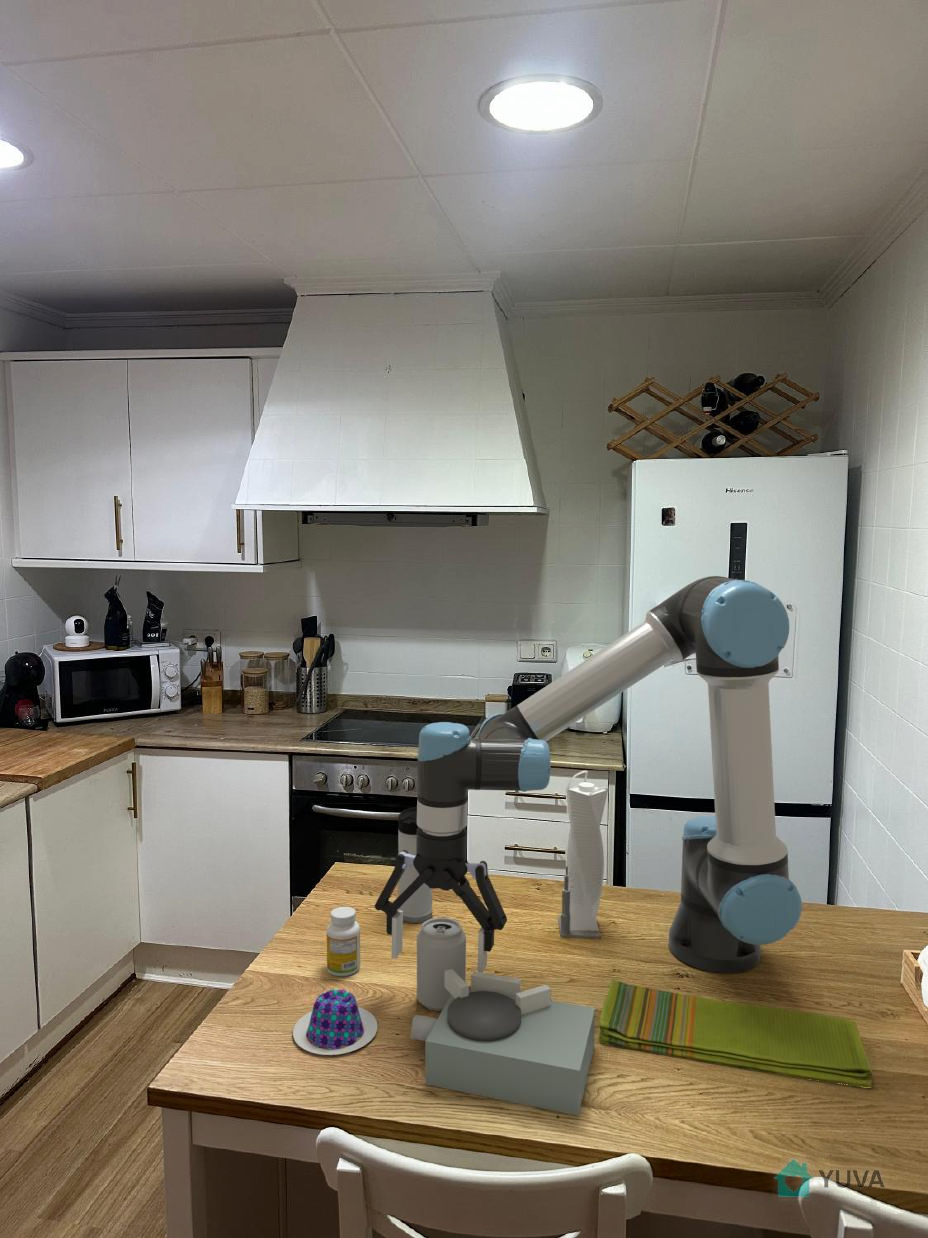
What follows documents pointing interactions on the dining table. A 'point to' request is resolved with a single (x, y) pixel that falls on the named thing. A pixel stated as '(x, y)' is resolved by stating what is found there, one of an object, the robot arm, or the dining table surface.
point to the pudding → (335, 1024)
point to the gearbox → (508, 1043)
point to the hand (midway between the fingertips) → (438, 962)
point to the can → (439, 959)
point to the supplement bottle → (343, 942)
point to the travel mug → (412, 871)
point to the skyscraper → (583, 861)
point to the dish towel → (734, 1034)
